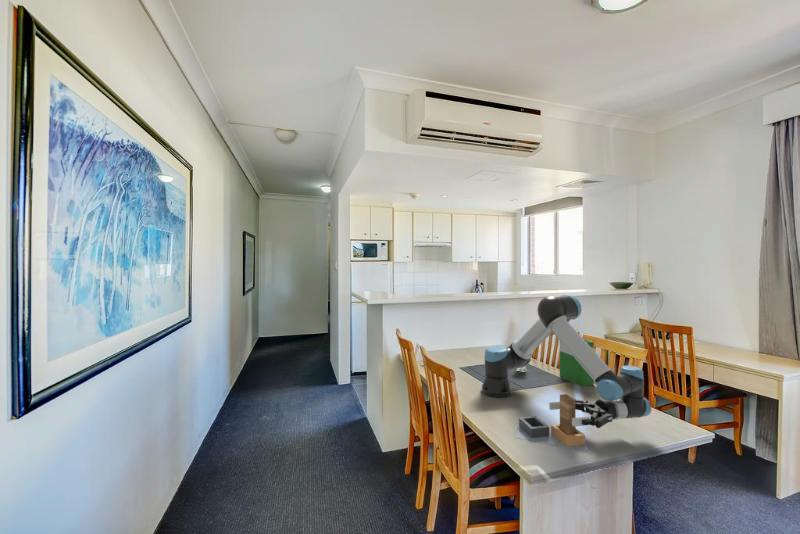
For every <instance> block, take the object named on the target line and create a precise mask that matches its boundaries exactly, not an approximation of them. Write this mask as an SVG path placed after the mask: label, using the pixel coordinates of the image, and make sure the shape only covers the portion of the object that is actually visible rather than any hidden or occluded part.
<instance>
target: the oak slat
mask: <svg viewBox="0 0 800 534" xmlns="http://www.w3.org/2000/svg"><path fill="white" fill-rule="evenodd" d="M575 400H576V399H575V398H574V397H572V396H571V395H569V394H566V393H565V394H564V393H563V394H559V402H560V409H559V424H560V430H562V431H563V432H564V433H566V434H567V435H572V434H576V429H577V428H576V427H577V426H572V418H577V417H576V409H575Z"/></svg>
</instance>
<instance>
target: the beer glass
mask: <svg viewBox="0 0 800 534" xmlns="http://www.w3.org/2000/svg"><path fill="white" fill-rule="evenodd" d="M516 369H517V371H521V372H525V371H527V365H526V366H524V367H522V368H516ZM517 371H516V372H517ZM527 372H528V371H527Z"/></svg>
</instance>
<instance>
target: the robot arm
mask: <svg viewBox="0 0 800 534" xmlns="http://www.w3.org/2000/svg"><path fill="white" fill-rule="evenodd" d="M581 314H582V305H581V302H580V300H579V299H578V298H577V297H575V296H574V295H571V294H561V295H560V294H559V295H552V296H551V295H550V296H546V297H543V298H542V299H541V300H540V301H539V303H538V305H537V316H538V317H539V318H538V320H537V321H536V322H535V323H534V324H533V325H532V326H531V327H530V328H529V329H528V330H527V331H526V332H525V333H524V334H523V336H522V337H520V338H519V340H518V339H517V340H513V342H511V344H509V346H507V347H506V346H505V345H504V346H503V345H491V346H488V347H487V348H486V349H485V350H484V379H483V381H482V385H481V393H482V394H484V395H486V396H488V395H489V396H488V397H493V398H506V397H510V396H511V395H512V386H511V384H510V381H509V376H508V375H509V372H508V371H511V370H515V369H517V368H522V367H524V366H526V367H527V366H528V365H529V364H530V362H531V360H532V356H533V352H534V351H535V350H536V349H537V348H538V347H539V346H540V345H541V344H542V343H543V342H544V341H545V340H546V339H547V338H548V337H549V336H551V334H552V333H553V334H554V335H555V336H556V337H557V339H558V340H559V342H560V341H561V342H562V343H563V345H564V346H565V347H566V348H567V349H568V350H569V352H570V353H571V354H572V355H573V356H574V357H575V359H576V360H577V361H578V362H579V363H580V364H581V366H582V367H583V368H584V369H585V370H586V372H587V373H588V374H589V375H590V376H591V377H592V379H593V380H594V383H596V388H595V389H596V391H597V394H598V396H599V397H601V399H597V400H596V401H595V402H594V403H593V402H590V403H589V400H588V399H575V411H577V410H578V411H582V413H587V414H589V415H590V416H578V417H576V418H572V426H576V427H581V426H593V427H594V426H595V428H597V429H600V428H601V427H603V426H605V425H607V424H608V423H612V422H613V421H614V420H616V421H617V420H621V419H634V418H643V417H647V416H650V414H651V412H652V406H651V402H650V401H649V400H648V399H647V398H646V397H644V396H645V395H644V394H645V393H644V390H645V389H644V387H645V386H644V385H645V382H644V381H645V378H644V371H643V369H641V368H640V367H638V366H634V365H622V366H621V367H620V371H619V374H615V372H614V371H613V370H612V369H611V368H610V367H609V366H608V365H607V364H606V362H605V361H604V360H603V359H602V358H601V357H600V356H599V355H598V354H597V352H596V351H595V349H594V350H593V349H592V348H591V347H590V346H589V345H588V344H587V343H586V341H585V340H586V339H585V338H583V337H582V336H581V335H580V333H578V331H577V330H576V329H575V328H574V327H573V326H572V325H571V323H570V321H572V320H576V319H578V318H579V317H580V316H581ZM584 339H585V340H584ZM548 405H549V406H548V407H549V408H548V409H549V410H550V411H554V410H560V401H549V403H548Z"/></svg>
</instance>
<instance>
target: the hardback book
mask: <svg viewBox="0 0 800 534" xmlns="http://www.w3.org/2000/svg"><path fill="white" fill-rule="evenodd" d="M583 339H584V340H585V341H586V343H587V344H588V345H589V346H590V347H591V348H592V349H593V350H594V351H595V349H594V348H595V347H594V346H595V345H594V344H595V342H594V341H592V340H588V339H585V338H583ZM559 377H561V378H563V379H566V380H568V381H570V382H571V383H574V384H576V383H577V384H576V385H578V386H581V387H588V386H594V385H595V381H594V380H593V379H592V377H591V376H590V375H589V374H588V373H587V372H586V370H585V369H584V368H583V367H582V366H581V364H580V363H579V362H578V361H577V360H576V359H575V357H574V356H573V355H572V354H571V353H570V352H569V350H568V349H567V348H566V347H565V346H564V345H563V343H562V342H561V341H560V340H559ZM593 384H594V385H593Z"/></svg>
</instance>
